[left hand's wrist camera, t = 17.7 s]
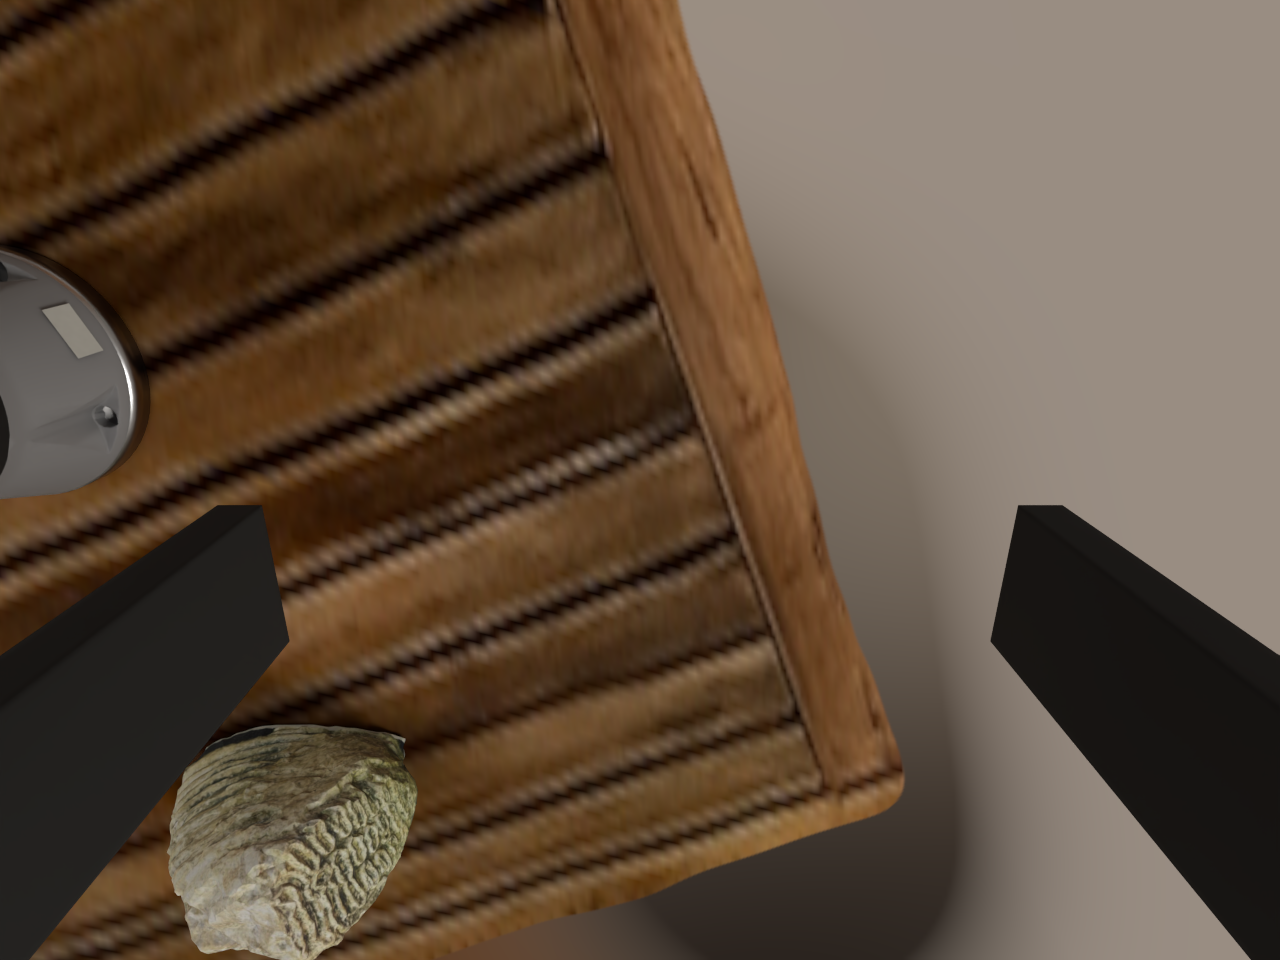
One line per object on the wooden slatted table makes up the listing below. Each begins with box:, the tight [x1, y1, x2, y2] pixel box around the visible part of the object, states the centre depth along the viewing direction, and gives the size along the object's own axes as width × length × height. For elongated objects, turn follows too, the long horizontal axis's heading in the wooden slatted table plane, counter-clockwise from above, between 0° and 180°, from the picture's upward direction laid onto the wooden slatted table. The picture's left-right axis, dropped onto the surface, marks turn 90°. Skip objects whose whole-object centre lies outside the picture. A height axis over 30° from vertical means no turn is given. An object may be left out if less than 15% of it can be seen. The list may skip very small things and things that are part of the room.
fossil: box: [167, 724, 418, 960], centre depth 48 cm, size 9×18×15 cm, turn 106°
